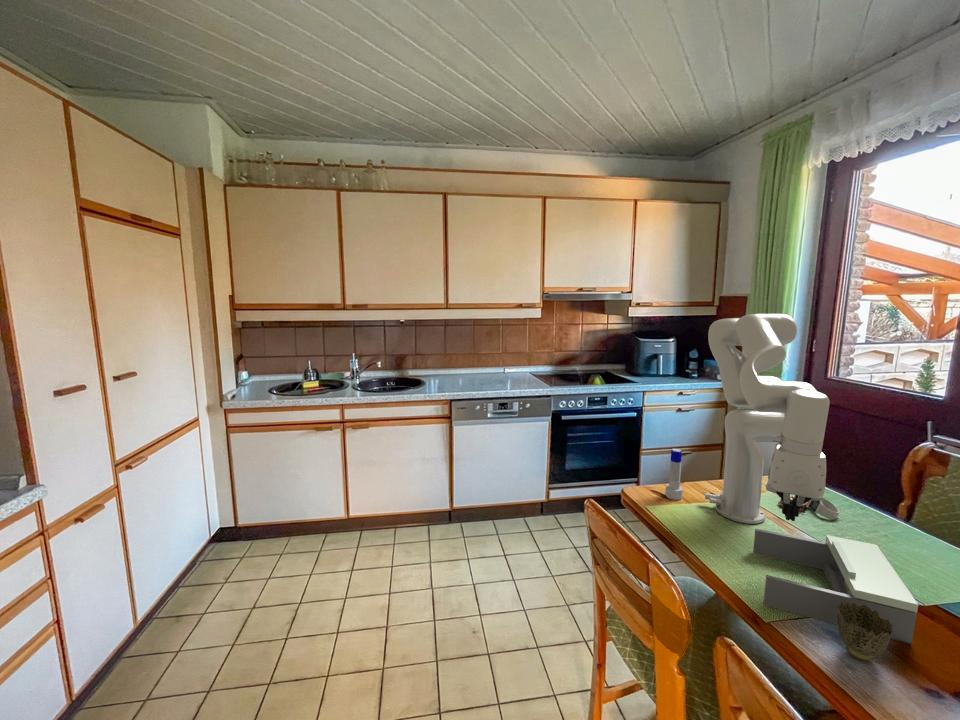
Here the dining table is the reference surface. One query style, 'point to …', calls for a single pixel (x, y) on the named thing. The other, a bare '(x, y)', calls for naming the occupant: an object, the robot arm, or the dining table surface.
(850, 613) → the cup
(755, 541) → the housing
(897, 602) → the lid
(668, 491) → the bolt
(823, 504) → the wristwatch
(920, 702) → the dining table surface
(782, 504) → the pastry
